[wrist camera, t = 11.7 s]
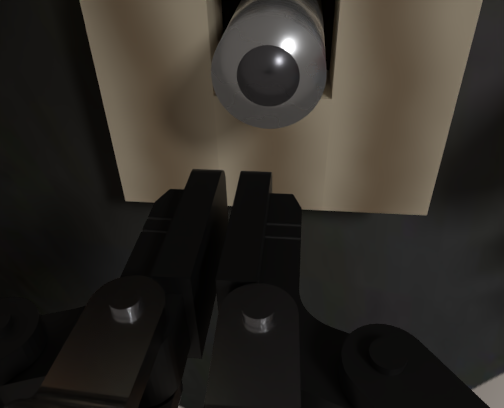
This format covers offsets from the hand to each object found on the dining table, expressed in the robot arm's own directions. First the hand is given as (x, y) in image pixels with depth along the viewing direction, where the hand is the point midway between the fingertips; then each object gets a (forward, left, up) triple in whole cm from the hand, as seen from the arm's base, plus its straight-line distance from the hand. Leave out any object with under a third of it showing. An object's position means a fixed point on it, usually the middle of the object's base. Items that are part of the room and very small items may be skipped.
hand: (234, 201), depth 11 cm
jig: (0, +3, -17) cm, 17 cm away
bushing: (0, 0, -17) cm, 17 cm away
